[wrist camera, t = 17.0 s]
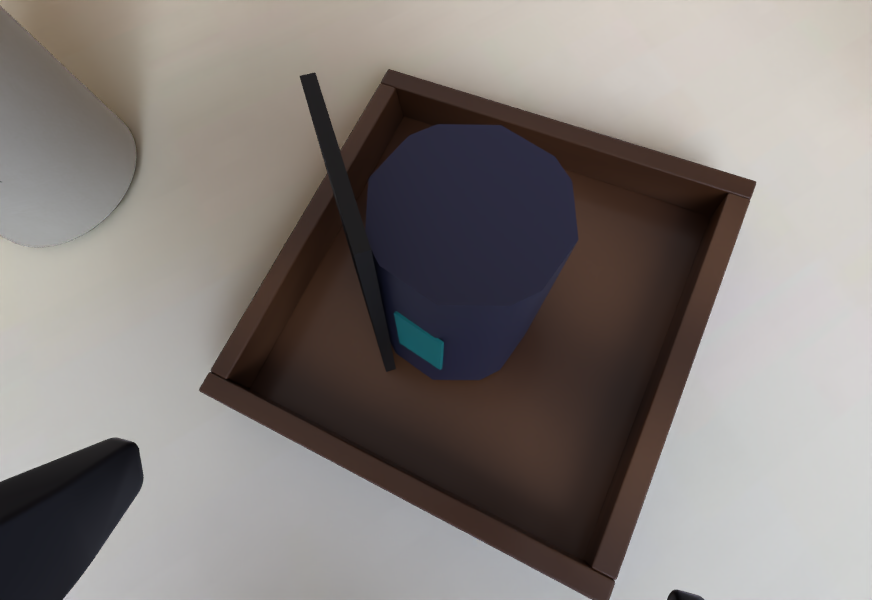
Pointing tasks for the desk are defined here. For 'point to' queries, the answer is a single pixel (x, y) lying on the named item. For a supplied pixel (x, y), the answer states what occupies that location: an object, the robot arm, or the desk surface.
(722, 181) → the tray
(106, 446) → the robot arm
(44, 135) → the travel mug
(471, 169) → the speaker
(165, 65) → the desk surface
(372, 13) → the desk surface
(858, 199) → the desk surface
